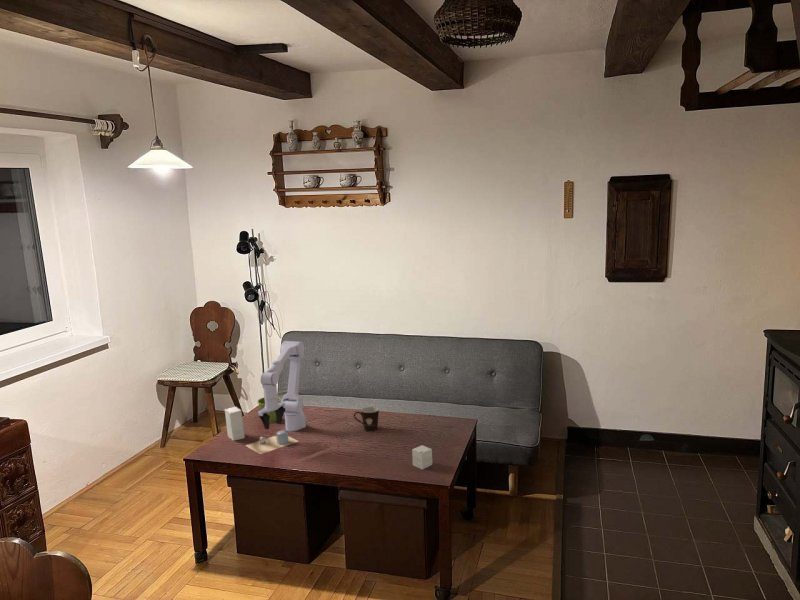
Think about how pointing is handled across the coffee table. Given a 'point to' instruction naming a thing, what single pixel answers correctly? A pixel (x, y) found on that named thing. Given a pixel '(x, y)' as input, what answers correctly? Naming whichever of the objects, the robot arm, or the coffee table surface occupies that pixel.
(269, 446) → the board
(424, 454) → the skincare box
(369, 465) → the coffee table surface
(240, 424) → the skincare box
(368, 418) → the coffee mug
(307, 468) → the coffee table surface
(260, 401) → the plant pot
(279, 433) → the cap
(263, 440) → the stud
